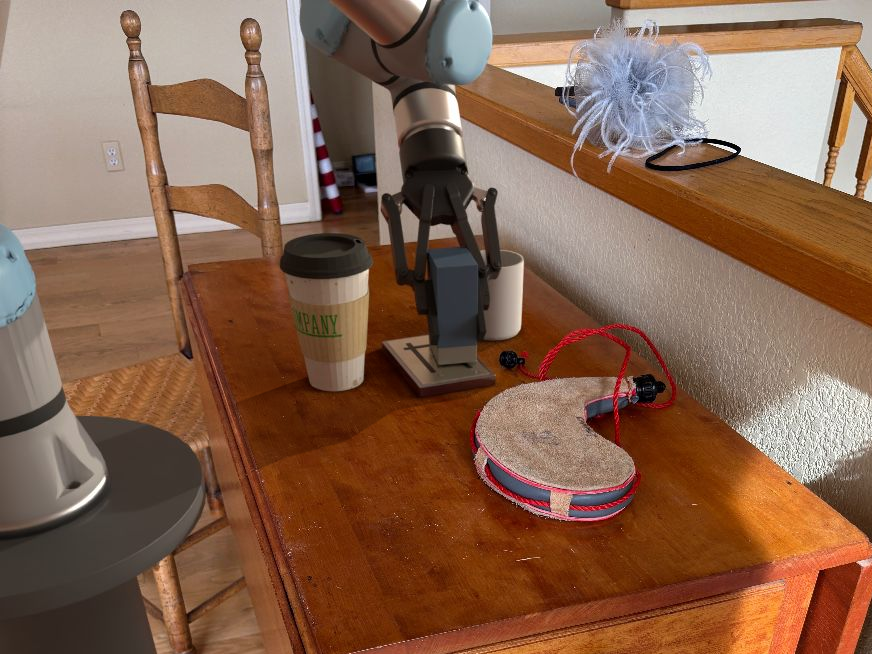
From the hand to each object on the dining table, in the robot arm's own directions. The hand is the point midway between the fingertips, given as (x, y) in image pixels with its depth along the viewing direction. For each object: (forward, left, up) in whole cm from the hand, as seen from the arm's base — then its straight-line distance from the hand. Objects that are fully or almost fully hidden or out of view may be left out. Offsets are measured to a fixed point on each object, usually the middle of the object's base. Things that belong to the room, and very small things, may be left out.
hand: (458, 338), depth 103 cm
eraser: (+1, +4, -3) cm, 5 cm away
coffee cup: (-13, +5, -5) cm, 15 cm away
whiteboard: (-1, +4, -5) cm, 6 cm away
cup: (+9, +13, -5) cm, 17 cm away
